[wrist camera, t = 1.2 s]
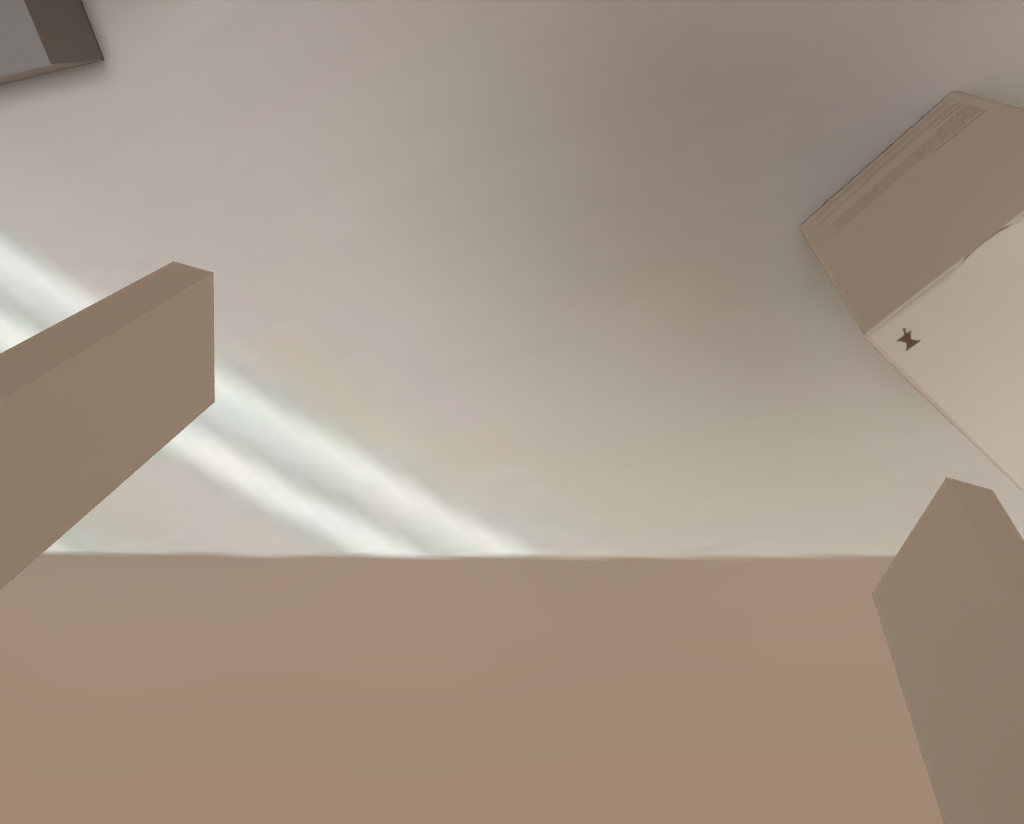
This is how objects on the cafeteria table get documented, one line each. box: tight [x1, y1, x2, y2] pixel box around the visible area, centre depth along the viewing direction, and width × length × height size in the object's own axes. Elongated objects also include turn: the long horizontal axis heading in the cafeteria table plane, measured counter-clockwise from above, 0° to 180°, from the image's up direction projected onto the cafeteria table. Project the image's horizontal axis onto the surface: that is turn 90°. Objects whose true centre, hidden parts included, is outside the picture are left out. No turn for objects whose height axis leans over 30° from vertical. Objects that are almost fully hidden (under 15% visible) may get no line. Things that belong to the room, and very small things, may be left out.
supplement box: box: [800, 91, 1024, 490], centre depth 30 cm, size 9×9×15 cm
